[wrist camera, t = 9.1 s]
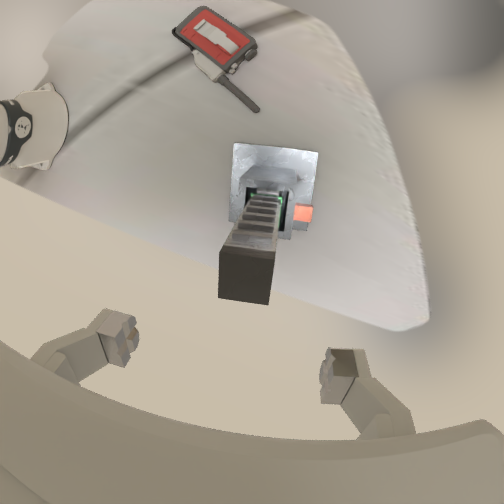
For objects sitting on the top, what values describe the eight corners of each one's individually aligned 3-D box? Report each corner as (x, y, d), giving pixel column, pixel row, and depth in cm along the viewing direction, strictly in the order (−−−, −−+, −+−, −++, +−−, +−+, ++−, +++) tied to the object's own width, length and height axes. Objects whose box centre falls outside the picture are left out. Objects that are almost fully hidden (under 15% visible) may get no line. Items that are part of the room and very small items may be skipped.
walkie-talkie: (165, 43, 32) (254, 117, 37) (153, 36, 28) (250, 115, 33) (204, 6, 29) (297, 78, 33) (195, -4, 25) (298, 72, 29)
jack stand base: (230, 219, 43) (207, 254, 32) (235, 142, 38) (212, 147, 26) (306, 228, 42) (312, 267, 31) (317, 152, 37) (331, 160, 26)
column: (254, 208, 34) (216, 299, 16) (257, 180, 33) (217, 245, 15) (280, 211, 34) (269, 306, 16) (283, 184, 33) (277, 252, 15)
